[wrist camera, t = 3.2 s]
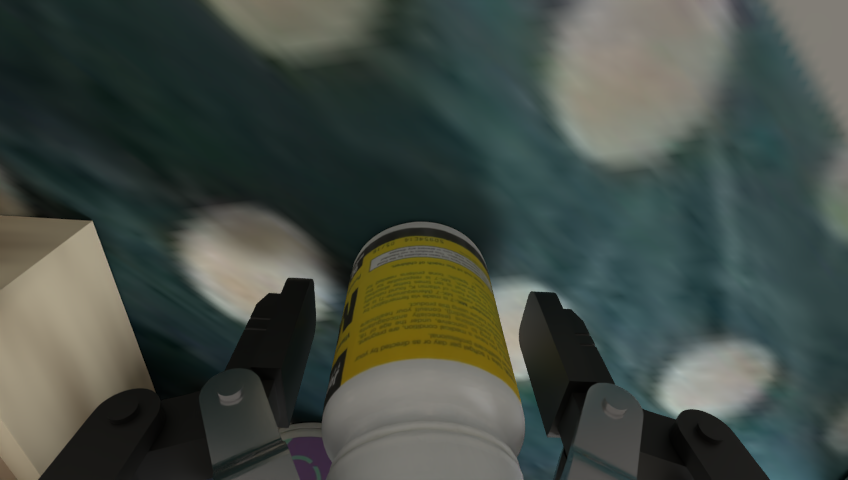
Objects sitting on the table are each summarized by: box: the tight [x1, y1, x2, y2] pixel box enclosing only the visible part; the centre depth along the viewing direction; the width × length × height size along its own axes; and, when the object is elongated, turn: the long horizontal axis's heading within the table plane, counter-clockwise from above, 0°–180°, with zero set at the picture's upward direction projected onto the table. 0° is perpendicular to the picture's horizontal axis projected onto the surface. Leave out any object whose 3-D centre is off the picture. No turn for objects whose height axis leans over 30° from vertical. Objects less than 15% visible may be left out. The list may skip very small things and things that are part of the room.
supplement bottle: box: [322, 222, 525, 480], centre depth 11 cm, size 5×5×8 cm
